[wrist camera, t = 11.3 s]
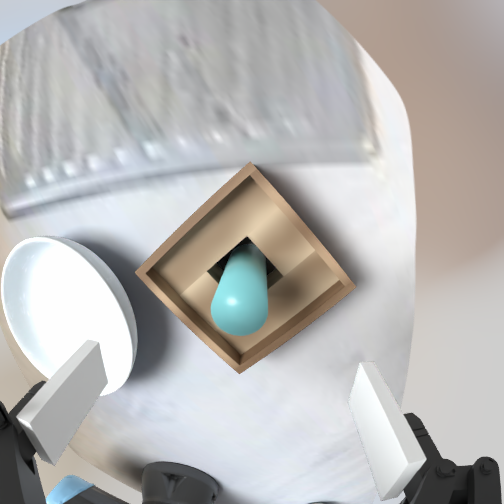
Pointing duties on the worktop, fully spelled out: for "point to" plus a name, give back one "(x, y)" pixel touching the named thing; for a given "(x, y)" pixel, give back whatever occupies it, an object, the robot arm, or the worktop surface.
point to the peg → (242, 293)
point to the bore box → (270, 244)
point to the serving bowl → (67, 307)
